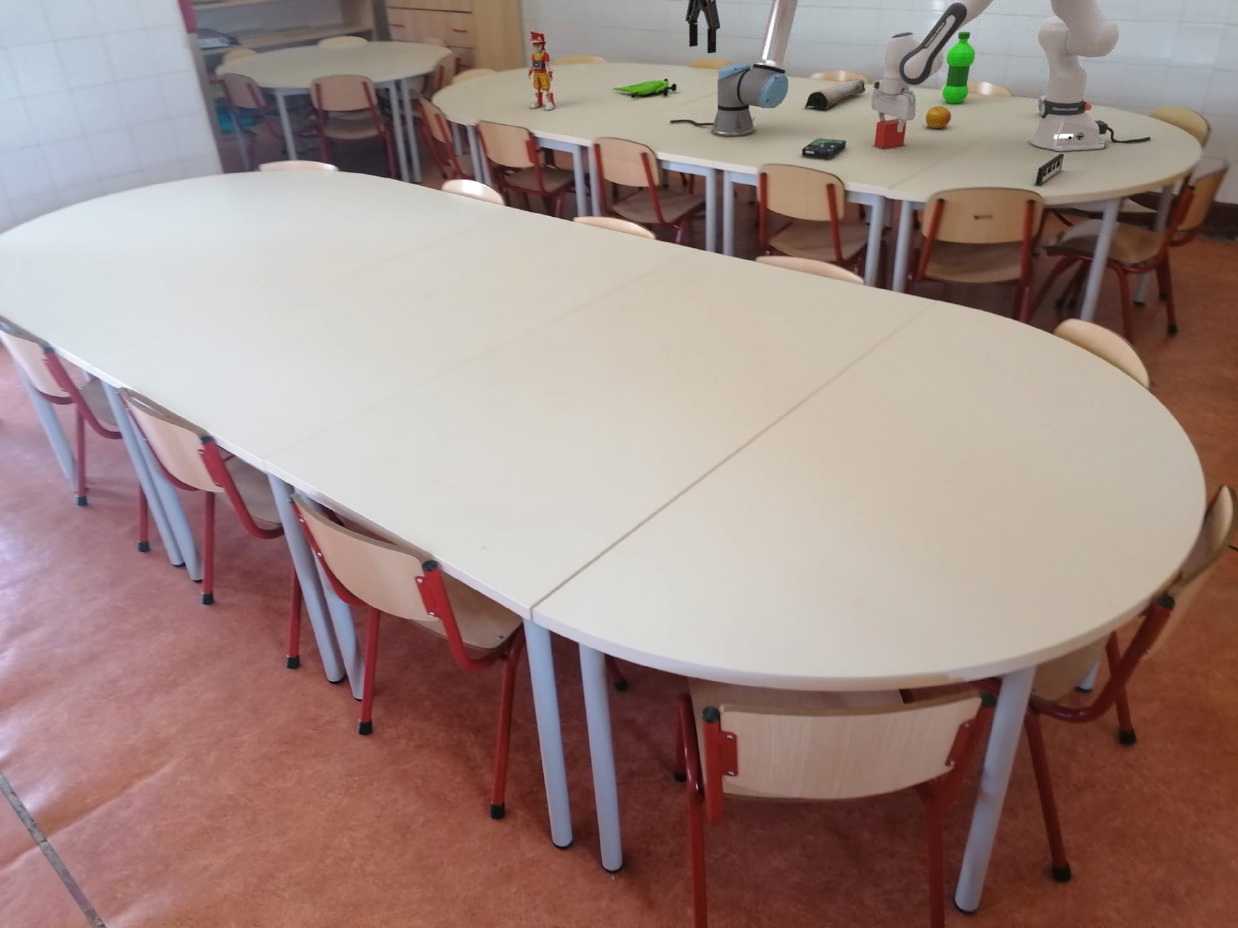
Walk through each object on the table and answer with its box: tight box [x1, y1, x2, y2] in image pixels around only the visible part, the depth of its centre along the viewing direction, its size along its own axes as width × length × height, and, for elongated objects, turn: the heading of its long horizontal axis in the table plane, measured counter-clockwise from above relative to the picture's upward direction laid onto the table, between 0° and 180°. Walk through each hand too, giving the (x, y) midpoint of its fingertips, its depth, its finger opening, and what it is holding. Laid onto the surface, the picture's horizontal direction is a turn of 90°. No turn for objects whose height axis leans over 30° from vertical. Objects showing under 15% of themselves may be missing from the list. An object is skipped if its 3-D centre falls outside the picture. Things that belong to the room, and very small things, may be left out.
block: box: [873, 118, 907, 150], centre depth 309 cm, size 5×9×8 cm, turn 112°
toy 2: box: [612, 78, 677, 99], centre depth 396 cm, size 28×5×30 cm
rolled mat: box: [804, 78, 866, 111], centre depth 363 cm, size 30×9×10 cm
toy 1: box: [527, 31, 556, 111], centre depth 374 cm, size 12×9×30 cm
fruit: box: [925, 105, 952, 129], centre depth 325 cm, size 8×8×8 cm
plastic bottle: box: [942, 31, 976, 104], centre depth 348 cm, size 10×10×25 cm
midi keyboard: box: [1035, 153, 1065, 186], centre depth 273 cm, size 18×1×5 cm, turn 138°
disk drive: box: [801, 137, 847, 160], centre depth 307 cm, size 10×3×15 cm
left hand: (702, 49), depth 290 cm, fingers open, 13 cm apart
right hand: (890, 128), depth 308 cm, fingers open, 8 cm apart
